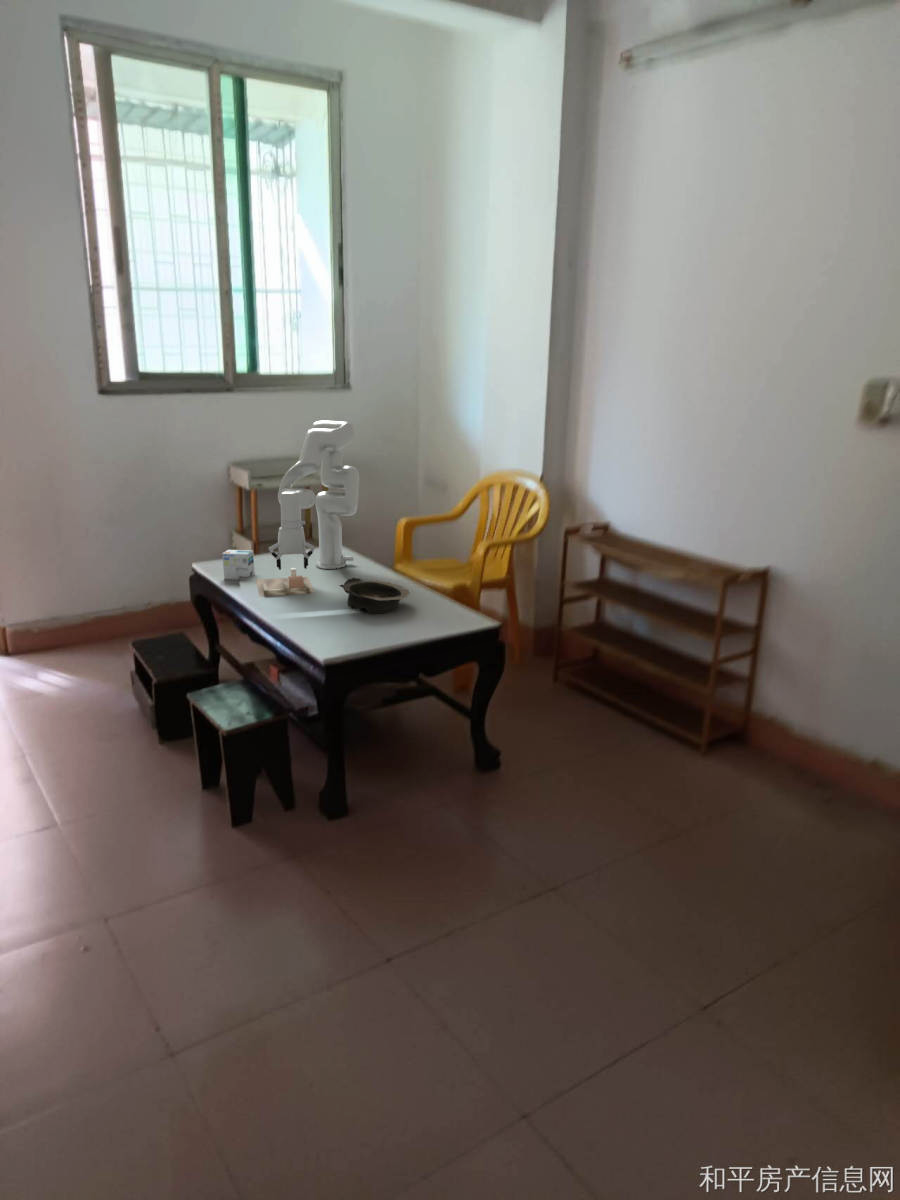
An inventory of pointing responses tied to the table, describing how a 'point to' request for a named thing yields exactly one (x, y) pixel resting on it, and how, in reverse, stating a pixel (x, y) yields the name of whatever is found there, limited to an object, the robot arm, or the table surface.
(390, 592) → the stone bowl
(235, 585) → the table surface
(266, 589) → the lane shelf
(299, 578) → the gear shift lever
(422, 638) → the table surface
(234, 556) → the light bulb box
